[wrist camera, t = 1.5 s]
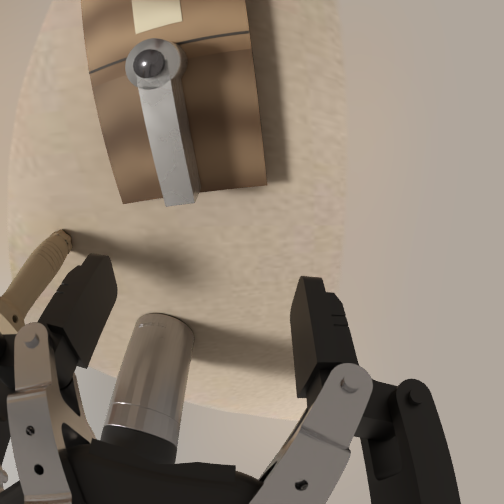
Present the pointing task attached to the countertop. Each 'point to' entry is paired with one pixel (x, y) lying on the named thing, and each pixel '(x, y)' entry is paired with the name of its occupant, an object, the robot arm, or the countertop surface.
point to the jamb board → (194, 88)
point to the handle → (32, 281)
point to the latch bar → (166, 116)
